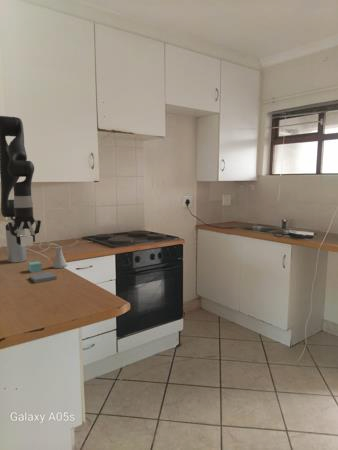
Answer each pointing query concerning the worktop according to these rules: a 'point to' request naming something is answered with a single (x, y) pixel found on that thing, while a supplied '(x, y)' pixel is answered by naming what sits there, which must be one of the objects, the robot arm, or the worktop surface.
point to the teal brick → (35, 266)
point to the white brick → (26, 240)
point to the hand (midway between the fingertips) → (25, 243)
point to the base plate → (42, 277)
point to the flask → (59, 259)
